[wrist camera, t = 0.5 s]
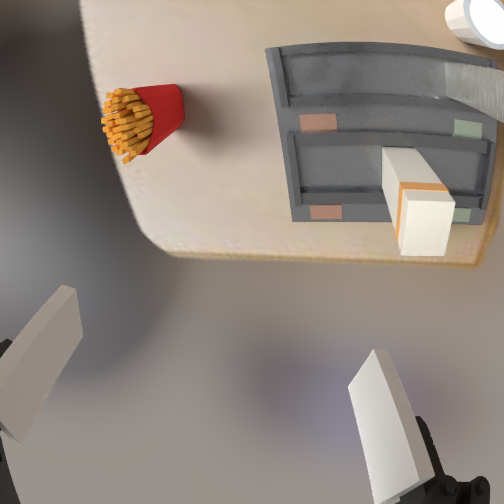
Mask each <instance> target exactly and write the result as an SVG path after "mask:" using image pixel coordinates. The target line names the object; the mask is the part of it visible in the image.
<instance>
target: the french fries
mask: <svg viewBox="0 0 504 504" xmlns="http://www.w3.org/2000/svg"><path fill="white" fill-rule="evenodd" d="M106 98H112V100H110V101H106V102H104V105H105V108H102V109H103V113H105V114H107V113H112V112H115V111H118V112H116V113H112V114H109V115H106V117H105V118H101V123H102V124H103V123H106V126H105V127H103V132H107V137H111V138H110V139H108V144H115V143H116V145H114V146H112V147H111V149H112V152H114V151H116V154H117V156H118V155H123V154H125V153H126V152H129V153H130V154H128V155H127V156H126V157H125V158H123V159H122V161H123V163H124V164H126V163H128V162H130V161H131V160H133V159H134V158H135V157H136V156H137V155H146V154H148V153H149V152H150V151H151V150H152V149H153V148H155V147H156V146H157V145H158V144H159V143H161V142H162V141H163V140H164V139H165V138H167V137H168V136H169V135H170V134H172V133H173V132H174V131H175V130H177V129H178V128H179V127H180V126H181V124H182V122H183V121H184V119H185V116H184V106H183V98H182V92H181V90H180V89H179V88H178V87H177V86H176V85H175V84H168V85H157V86H147V87H138V88H132V89H125V88H119V89H116V90H114V93H107V95H106Z"/></svg>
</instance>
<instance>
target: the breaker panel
mask: <svg viewBox="0 0 504 504" xmlns="http://www.w3.org/2000/svg"><path fill="white" fill-rule="evenodd" d="M265 53H266V58H267V63H268V68H269V73H270V79H271V84H272V90H273V95H274V101H275V107H276V112H277V118H278V125H279V131H280V137H281V143H282V150H283V156H284V163H285V170H286V177H287V184H288V192H289V199H290V207H291V215H292V222H392V218H391V215H390V211H389V208H388V205H387V201H386V198H385V195H384V192H383V189H382V147H401V148H415V149H416V150H417V151H418V152H419V153H420V155H421V156H422V157H423V158H424V160H425V161H426V162H427V164H428V165H429V166H430V167H431V169H432V170H433V171H434V173H435V174H436V175H437V177H438V178H439V179H440V181H441V182H442V184H444V185H445V187H446V188H447V189H448V191H449V194H450V195H451V197H452V198H453V200H454V201H455V208H454V213H453V218H452V223H451V224H471V225H482V222H483V218H484V214H485V210H486V206H487V202H488V197H489V192H490V186H491V180H492V174H493V167H494V160H495V151H496V137H497V121H498V120H499V121H501V122H502V123H504V71H502V70H498V67H497V61H494V60H490V59H486V58H483V57H479V56H475V55H470V54H466V53H461V52H456V51H451V50H445V49H439V48H433V47H426V46H418V45H409V44H397V43H381V42H328V43H312V44H300V45H290V46H282V47H274V48H267V49H265Z"/></svg>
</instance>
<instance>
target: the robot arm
mask: <svg viewBox="0 0 504 504" xmlns="http://www.w3.org/2000/svg"><path fill="white" fill-rule="evenodd" d="M82 337H83V331H82V325H81V320H80V314H79V307H78V301H77V294H76V289H74V288H71V287H68V286H65V285H61V286H60V287H59V289H58V290H57V291H56V292H55V293H54V294H53V295H52V296H51V297H50V298H49V300H48V301H47V302H46V303H45V304H44V305H43V306H42V307H41V309H40V310H39V311H38V312H37V313H36V314H35V315H34V317H33V318H32V319H31V320H30V321H29V323H28V324H27V325H26V326H25V327H24V329H23V330H22V331H21V332H20V334H19V335H18V336H17V337H16V339H15V340H14V341H11V340H9V339H6V340H4V341H3V342H1V343H0V431H1V430H2V431H3V432H4V433H5V434H6V435H7V436H8V437H9V438H11V439H12V440H14V441H15V442H17V443H18V444H20V445H23V443H24V441H25V439H26V437H27V434H28V433H29V430H30V428H31V426H32V424H33V422H34V420H35V418H36V416H37V414H38V413H39V411H40V409H41V407H42V405H43V403H44V401H45V399H46V398H47V396H48V394H49V392H50V390H51V388H52V387H53V385H54V383H55V381H56V380H57V378H58V376H59V374H60V373H61V371H62V369H63V367H64V366H65V364H66V363H67V361H68V359H69V358H70V356H71V355H72V353H73V351H74V350H75V348H76V346H77V345H78V343H79V342H80V340H81V338H82ZM348 389H349V393H350V397H351V401H352V405H353V408H354V412H355V416H356V421H357V425H358V429H359V433H360V437H361V441H362V445H363V450H364V454H365V458H366V464H367V468H368V473H369V477H370V483H371V487H372V493H373V498H374V503H375V504H384V503H388V502H391V501H393V500H395V499H397V498H399V497H400V501H399V502H398V503H396V504H489V503H490V484H489V482H488V480H487V479H486V478H485V477H483V476H478V477H476V478H475V479H473V480H472V481H470V482H457V481H456V480H455V478H453V477H452V476H448V475H445V474H444V471H443V468H442V465H441V463H440V460H439V457H438V454H437V451H436V448H435V445H433V440H432V437H430V432H429V429H428V427H427V425H426V423H425V422H424V421H423V420H422V418H421V417H420V416H416V417H415V416H414V413H413V411H412V408H411V406H410V403H409V401H408V398H407V396H406V393H405V391H404V388H403V386H402V384H401V381H400V379H399V377H398V375H397V372H396V370H395V367H394V365H393V363H392V360H391V358H390V356H389V354H388V351H387V350H380V349H373V350H372V352H371V354H370V355H369V357H368V358H367V360H366V361H365V363H364V364H363V366H362V367H361V369H360V370H359V372H358V373H357V375H356V376H355V377H354V379H353V380H352V382H351V383H350V385H349V386H348ZM0 504H20V501H19V498H18V495H17V493H16V490H15V487H14V484H13V481H12V478H11V474H10V471H9V468H8V464H7V460H6V456H5V453H4V448H3V444H2V439H1V437H0Z"/></svg>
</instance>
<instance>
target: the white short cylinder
mask: <svg viewBox="0 0 504 504" xmlns="http://www.w3.org/2000/svg"><path fill="white" fill-rule="evenodd" d="M445 19H446V23H447V25H448V27H449V29H450V30H451V32H452V33H453V34H454V35H455V36H456V37H457V38H459V39H460V40H462V41H463V42H466V43H470V44H474V45H479V46H484V47H488V48H493V49H497V50H503V49H504V5H503V4H502V2H501V1H500V0H456V1H454V2H452V3H451V4H450V5H449V6H447V8H446V11H445Z"/></svg>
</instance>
